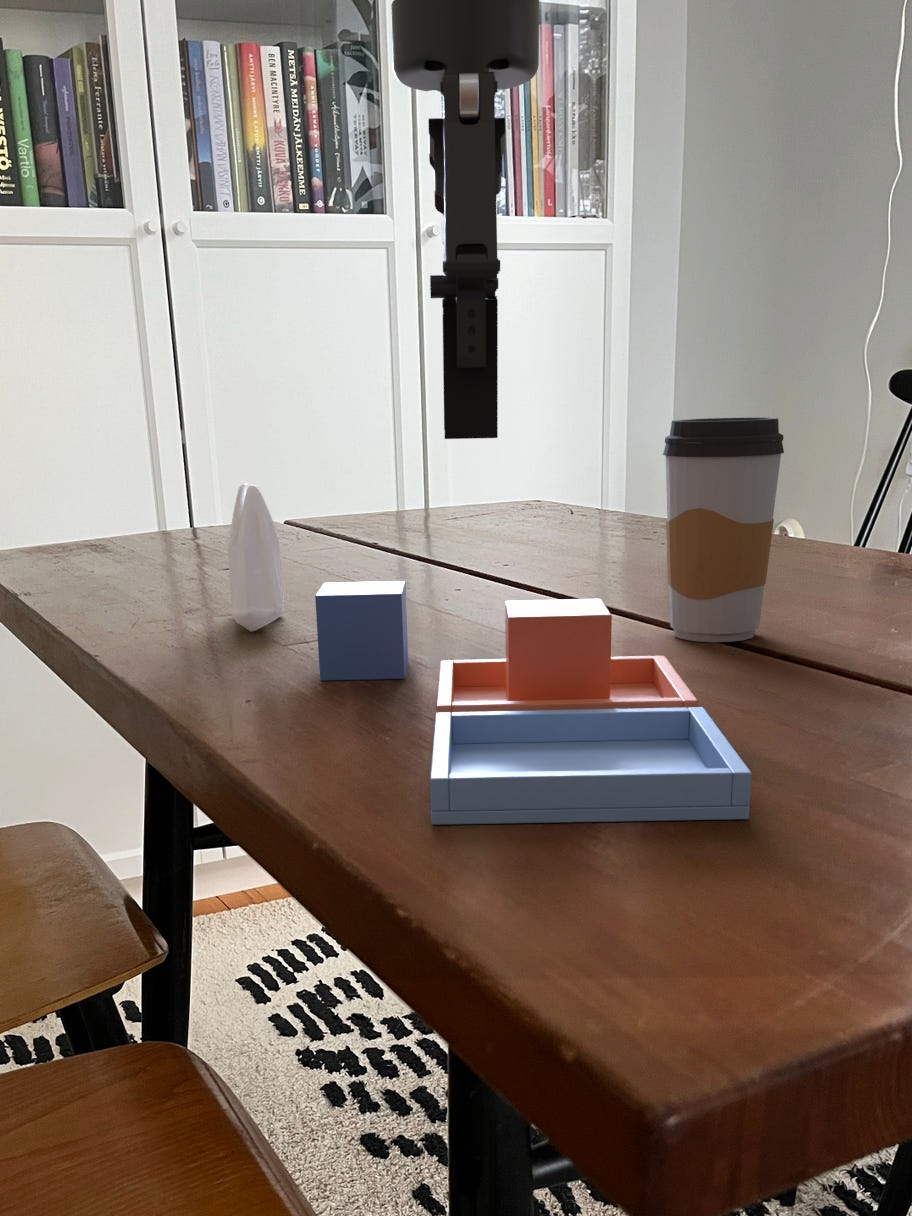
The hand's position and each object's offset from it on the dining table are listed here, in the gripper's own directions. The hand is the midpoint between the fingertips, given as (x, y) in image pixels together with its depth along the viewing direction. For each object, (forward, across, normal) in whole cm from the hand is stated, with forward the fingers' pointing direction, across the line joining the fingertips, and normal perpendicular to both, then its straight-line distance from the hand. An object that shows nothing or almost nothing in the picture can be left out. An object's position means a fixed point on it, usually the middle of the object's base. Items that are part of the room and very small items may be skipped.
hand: (468, 434), depth 71 cm
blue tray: (+15, +18, +5) cm, 24 cm away
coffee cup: (+15, -18, +18) cm, 30 cm away
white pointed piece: (+16, -27, -16) cm, 36 cm away
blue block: (+15, -8, -7) cm, 19 cm away
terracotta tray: (+15, +5, +5) cm, 17 cm away
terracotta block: (+14, +5, +5) cm, 16 cm away
